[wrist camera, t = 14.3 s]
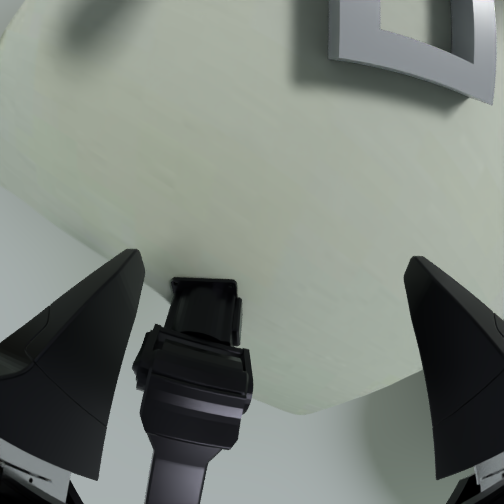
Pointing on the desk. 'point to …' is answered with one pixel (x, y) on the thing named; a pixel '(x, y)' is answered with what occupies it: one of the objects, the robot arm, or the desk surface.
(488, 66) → the dock
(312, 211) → the desk surface
